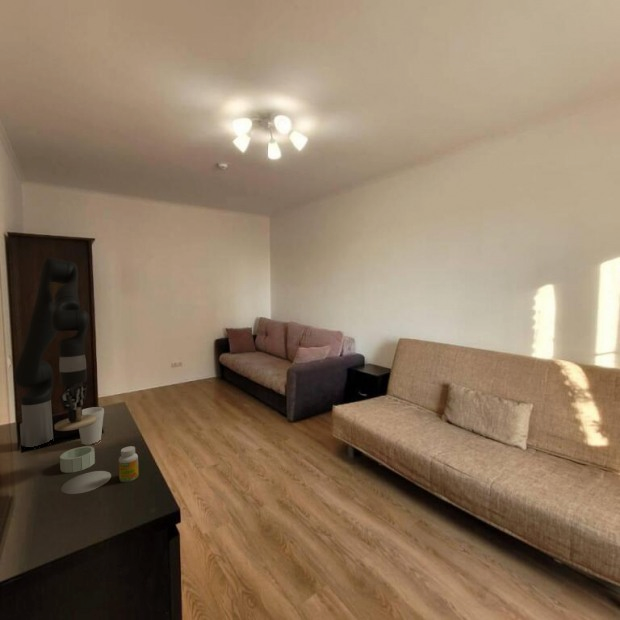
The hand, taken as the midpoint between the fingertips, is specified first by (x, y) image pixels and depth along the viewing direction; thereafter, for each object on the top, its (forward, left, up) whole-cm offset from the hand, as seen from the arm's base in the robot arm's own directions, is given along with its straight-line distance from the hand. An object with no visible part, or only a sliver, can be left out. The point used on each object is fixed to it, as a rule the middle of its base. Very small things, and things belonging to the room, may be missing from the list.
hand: (75, 418), depth 115 cm
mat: (+10, -11, -17) cm, 22 cm away
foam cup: (-8, +20, -17) cm, 28 cm away
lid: (0, 0, -2) cm, 2 cm away
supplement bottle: (+22, -9, -17) cm, 29 cm away
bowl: (0, 0, -17) cm, 17 cm away
